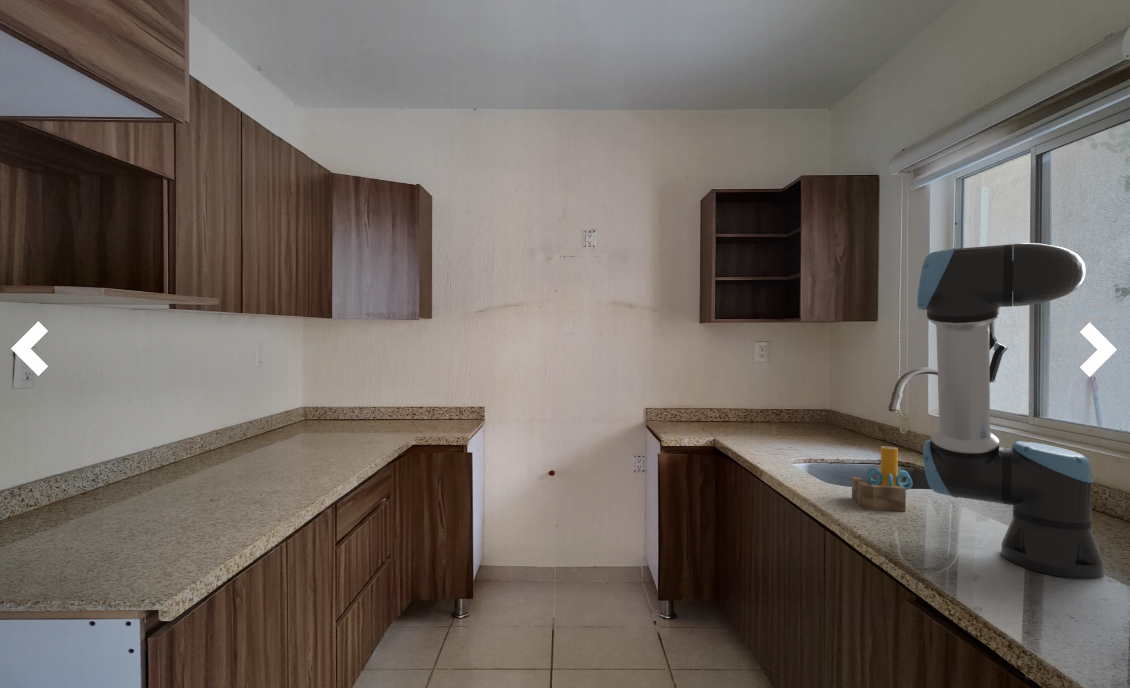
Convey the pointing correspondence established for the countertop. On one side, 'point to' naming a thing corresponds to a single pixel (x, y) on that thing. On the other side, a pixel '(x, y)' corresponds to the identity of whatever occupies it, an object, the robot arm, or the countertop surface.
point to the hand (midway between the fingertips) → (975, 408)
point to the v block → (878, 496)
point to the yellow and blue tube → (889, 470)
